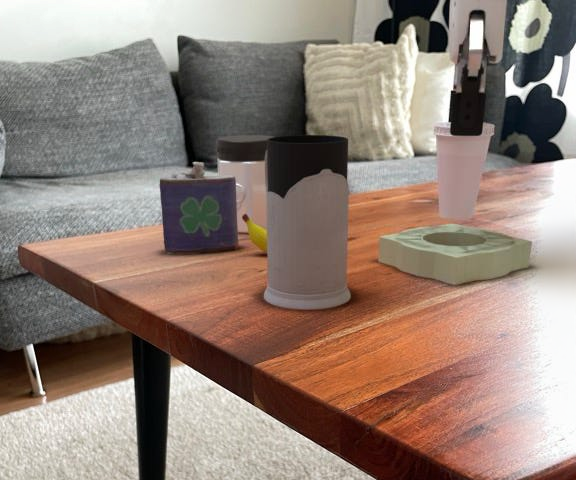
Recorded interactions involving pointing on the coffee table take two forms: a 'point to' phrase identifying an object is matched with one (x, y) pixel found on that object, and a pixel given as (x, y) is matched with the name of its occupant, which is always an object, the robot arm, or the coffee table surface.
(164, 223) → the flask
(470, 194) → the smoothie
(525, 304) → the coffee table surface
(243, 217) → the fruit
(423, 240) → the ashtray
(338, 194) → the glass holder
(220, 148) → the jar
